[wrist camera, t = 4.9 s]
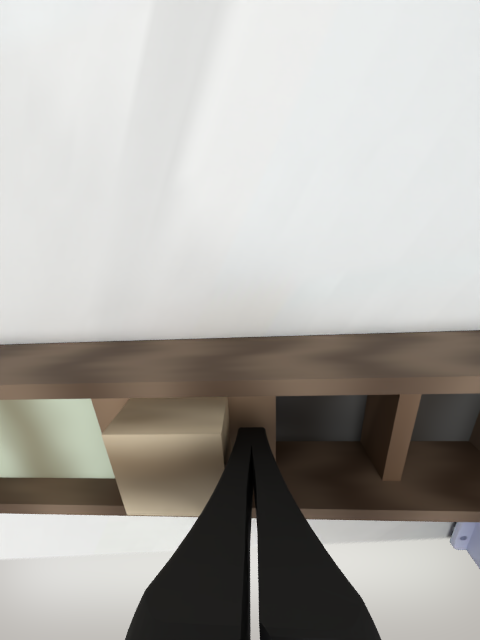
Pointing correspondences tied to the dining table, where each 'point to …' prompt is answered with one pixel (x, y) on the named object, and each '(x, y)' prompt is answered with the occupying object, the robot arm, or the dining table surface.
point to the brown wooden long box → (258, 418)
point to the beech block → (169, 453)
